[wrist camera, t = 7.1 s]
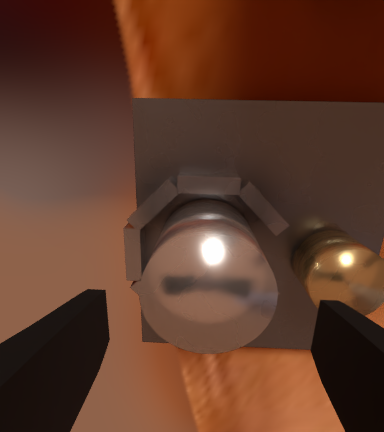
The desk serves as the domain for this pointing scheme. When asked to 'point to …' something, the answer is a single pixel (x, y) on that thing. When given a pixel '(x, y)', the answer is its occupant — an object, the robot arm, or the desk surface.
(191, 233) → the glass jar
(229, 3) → the desk surface
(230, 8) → the desk surface
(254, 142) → the carrier plate
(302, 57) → the desk surface
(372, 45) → the desk surface
